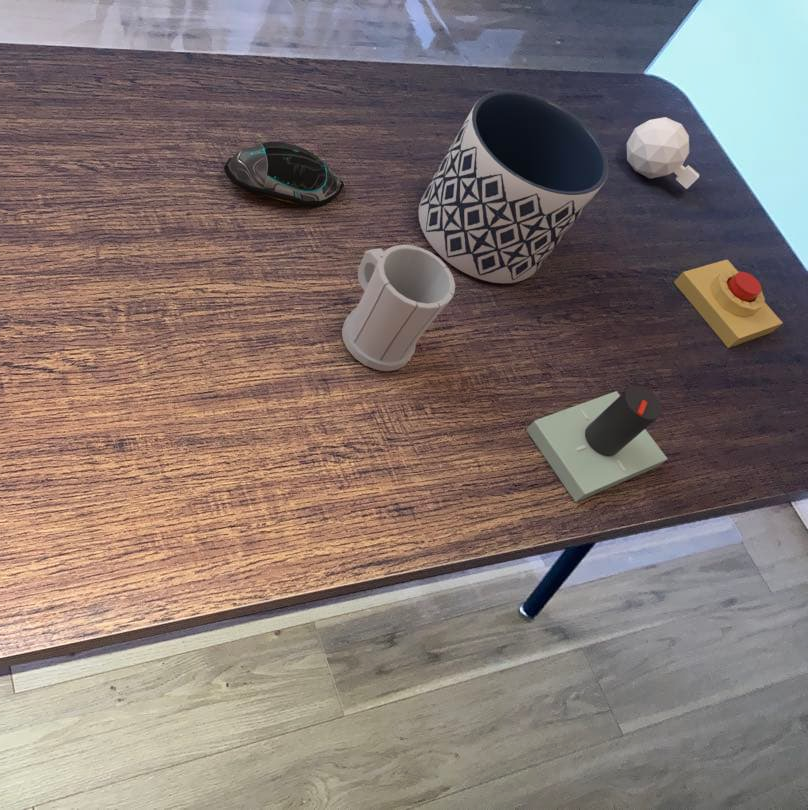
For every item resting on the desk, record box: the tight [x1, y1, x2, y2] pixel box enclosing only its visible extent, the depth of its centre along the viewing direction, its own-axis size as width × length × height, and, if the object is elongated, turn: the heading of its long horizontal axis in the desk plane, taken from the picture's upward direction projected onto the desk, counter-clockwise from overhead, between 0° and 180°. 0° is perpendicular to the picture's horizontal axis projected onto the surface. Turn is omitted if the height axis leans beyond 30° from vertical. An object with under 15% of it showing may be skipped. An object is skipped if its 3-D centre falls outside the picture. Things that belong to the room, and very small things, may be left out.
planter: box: [417, 89, 609, 284], centre depth 115 cm, size 18×18×16 cm
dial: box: [585, 385, 663, 456], centre depth 101 cm, size 4×4×8 cm
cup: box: [341, 244, 456, 372], centre depth 101 cm, size 10×9×12 cm
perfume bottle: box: [626, 116, 700, 190], centre depth 138 cm, size 9×9×12 cm
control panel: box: [525, 390, 668, 503], centre depth 105 cm, size 14×10×2 cm
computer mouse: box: [223, 141, 345, 209], centre depth 114 cm, size 9×17×6 cm, turn 103°
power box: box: [673, 259, 784, 349], centre depth 126 cm, size 12×10×4 cm
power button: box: [727, 271, 763, 302], centre depth 124 cm, size 4×4×2 cm
